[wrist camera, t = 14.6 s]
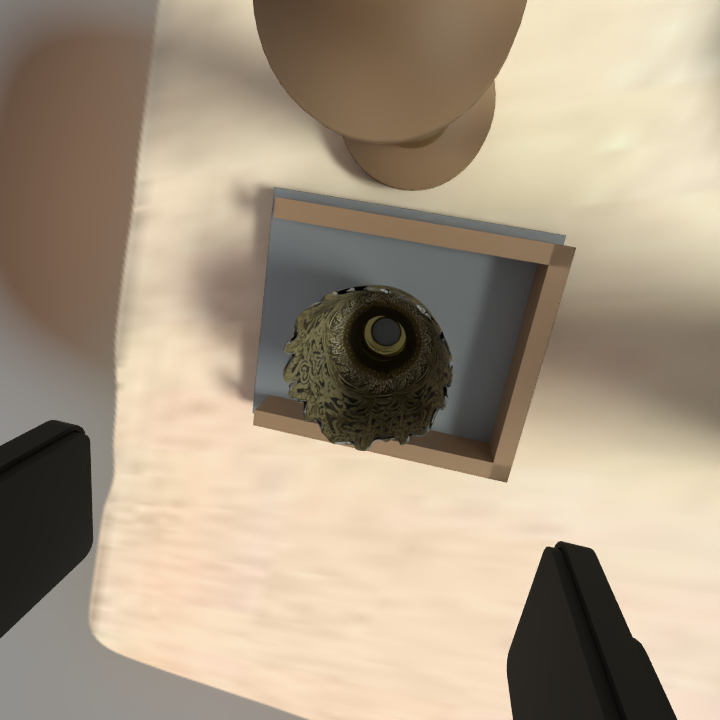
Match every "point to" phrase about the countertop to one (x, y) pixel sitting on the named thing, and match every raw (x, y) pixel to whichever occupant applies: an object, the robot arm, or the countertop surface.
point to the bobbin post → (394, 76)
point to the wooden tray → (439, 295)
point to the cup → (368, 367)
